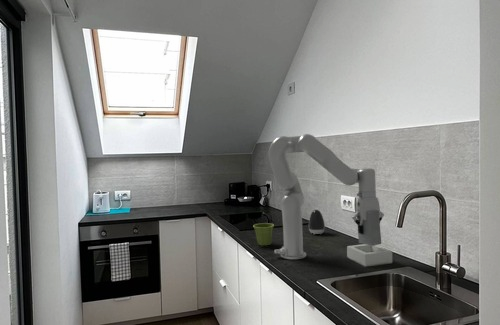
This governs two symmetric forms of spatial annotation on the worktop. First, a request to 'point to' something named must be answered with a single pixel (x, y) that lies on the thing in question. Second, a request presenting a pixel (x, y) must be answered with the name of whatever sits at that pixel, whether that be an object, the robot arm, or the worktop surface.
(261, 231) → the plant pot
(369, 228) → the skincare box
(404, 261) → the worktop surface
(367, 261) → the box
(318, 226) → the black rounded dome
